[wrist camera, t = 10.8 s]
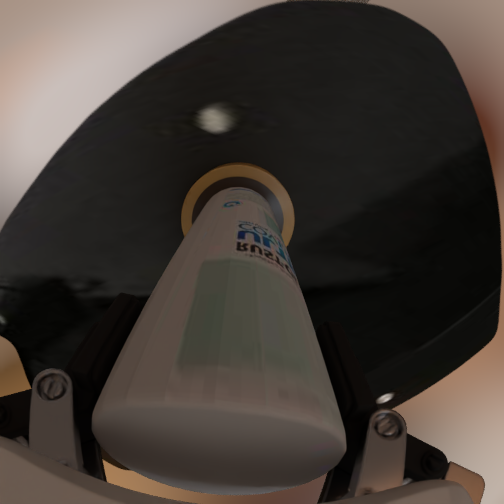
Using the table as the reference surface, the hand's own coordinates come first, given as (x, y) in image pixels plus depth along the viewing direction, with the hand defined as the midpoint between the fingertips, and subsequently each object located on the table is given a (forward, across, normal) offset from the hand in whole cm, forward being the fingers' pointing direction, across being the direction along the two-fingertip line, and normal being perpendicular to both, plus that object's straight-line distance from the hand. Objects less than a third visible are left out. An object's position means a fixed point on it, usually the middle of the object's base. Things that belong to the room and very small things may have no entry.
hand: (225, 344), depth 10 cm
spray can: (+15, 0, 0) cm, 15 cm away
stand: (+18, 0, 0) cm, 18 cm away
